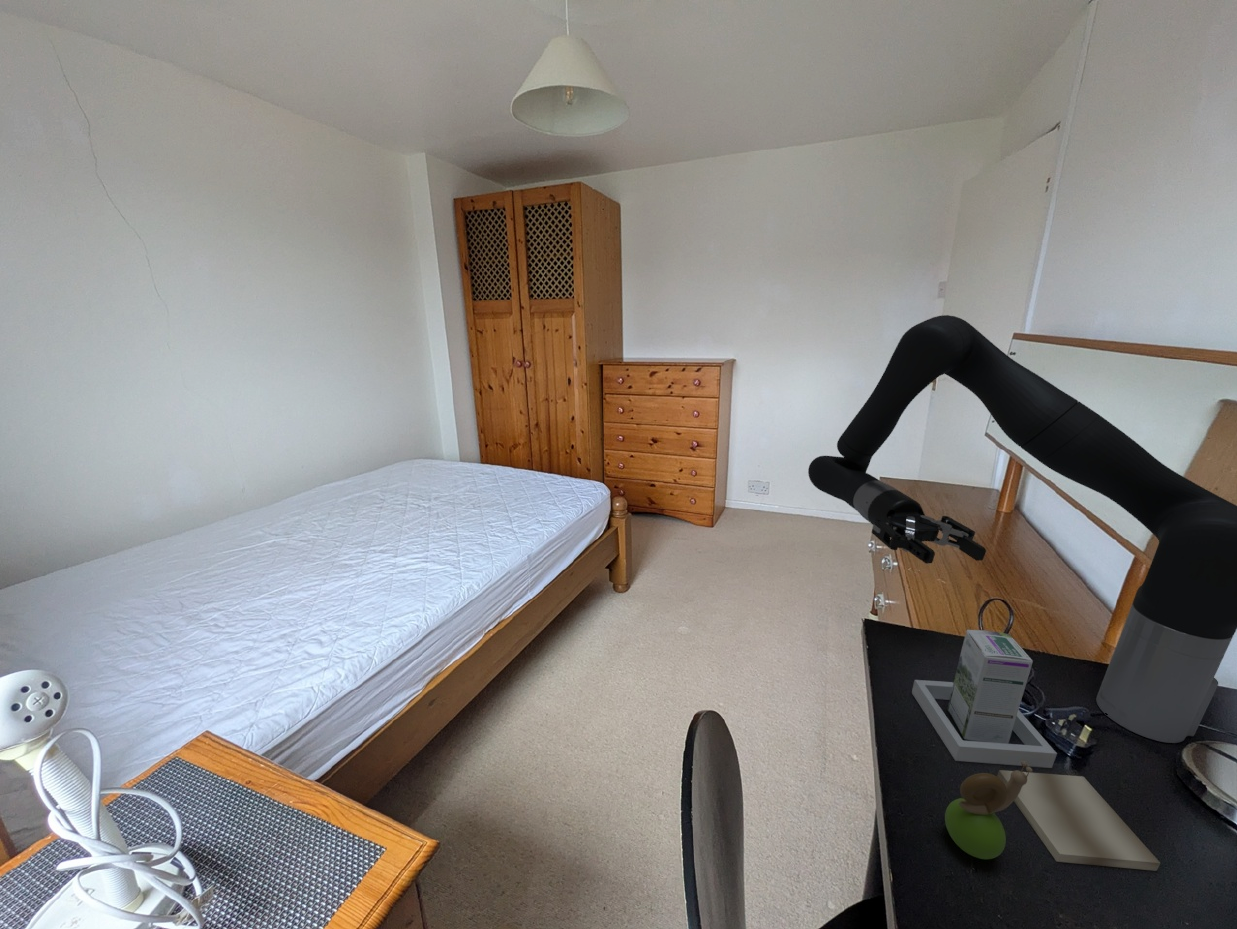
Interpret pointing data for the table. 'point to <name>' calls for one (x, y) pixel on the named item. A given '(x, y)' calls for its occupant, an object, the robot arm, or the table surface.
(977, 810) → the snail figurine
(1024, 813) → the birch pad
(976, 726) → the syrup box
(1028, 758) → the grey square frame
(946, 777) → the table surface
